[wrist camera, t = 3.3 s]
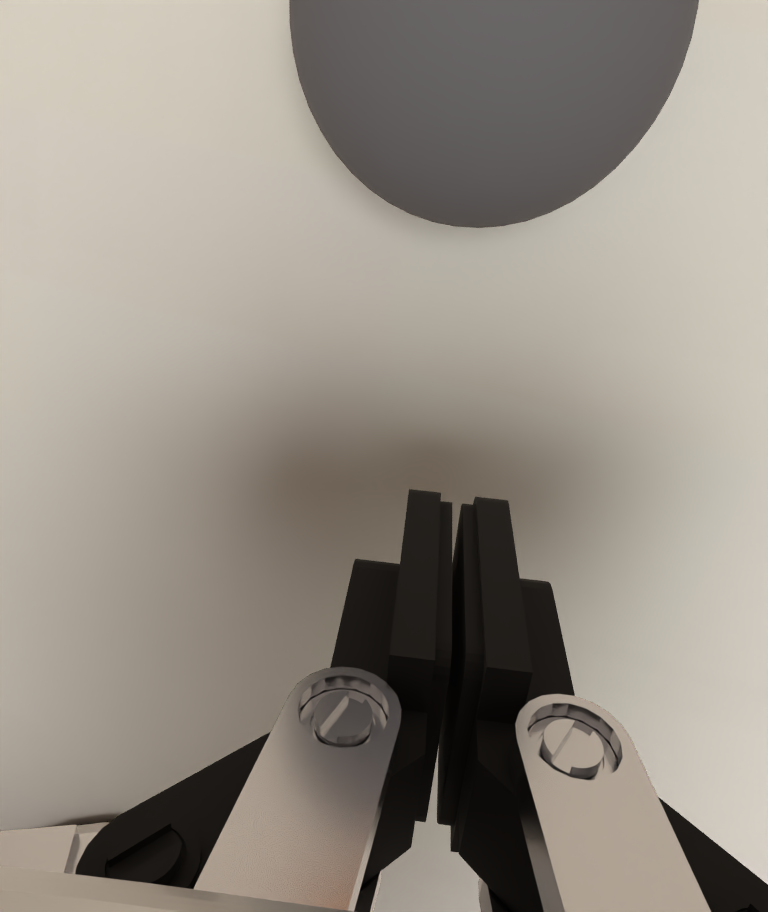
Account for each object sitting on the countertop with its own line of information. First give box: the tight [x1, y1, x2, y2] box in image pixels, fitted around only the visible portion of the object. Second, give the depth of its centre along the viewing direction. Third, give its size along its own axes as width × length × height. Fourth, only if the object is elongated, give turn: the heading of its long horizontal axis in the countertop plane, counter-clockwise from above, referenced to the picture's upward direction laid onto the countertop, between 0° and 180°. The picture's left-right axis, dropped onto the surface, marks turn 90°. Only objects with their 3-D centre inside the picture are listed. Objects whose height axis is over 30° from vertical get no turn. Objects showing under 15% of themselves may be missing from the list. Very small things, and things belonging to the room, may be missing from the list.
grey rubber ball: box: [290, 0, 699, 228], centre depth 9 cm, size 6×6×6 cm
